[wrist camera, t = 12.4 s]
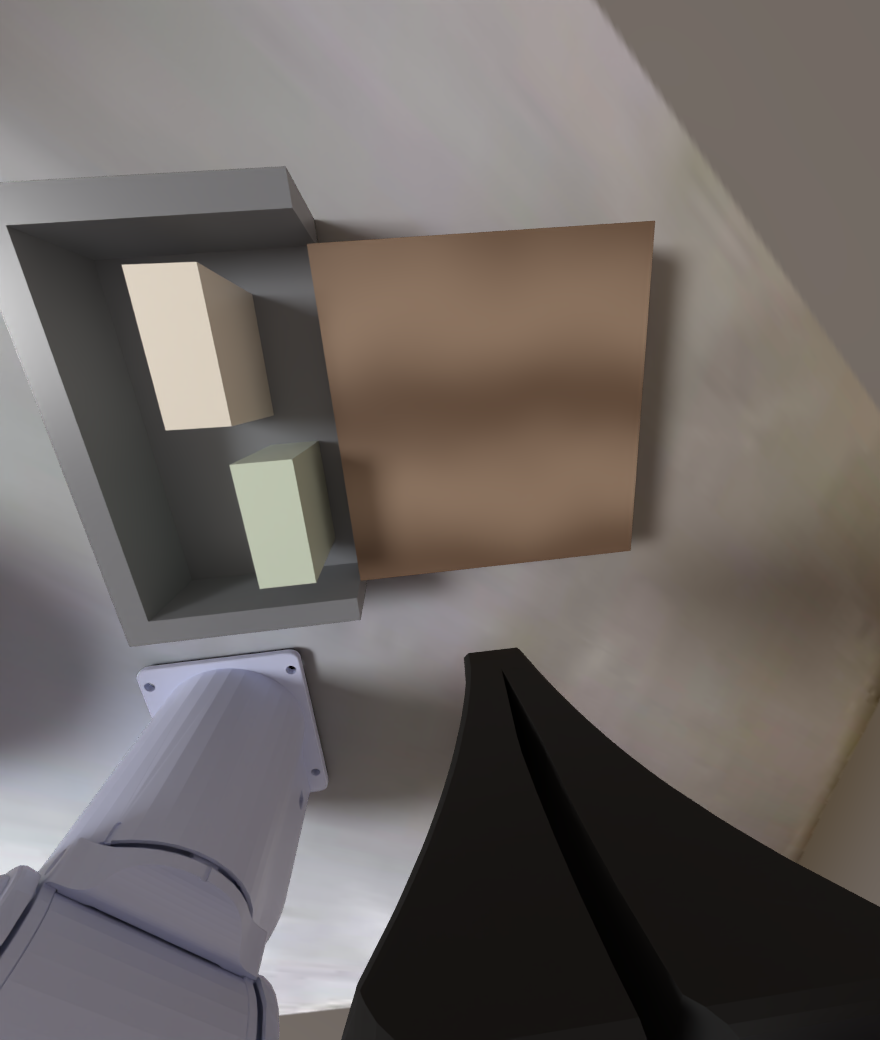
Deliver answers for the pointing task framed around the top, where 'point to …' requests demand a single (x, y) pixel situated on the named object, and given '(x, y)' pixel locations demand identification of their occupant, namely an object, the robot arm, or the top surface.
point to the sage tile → (285, 512)
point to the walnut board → (486, 392)
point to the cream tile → (199, 345)
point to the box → (133, 402)
